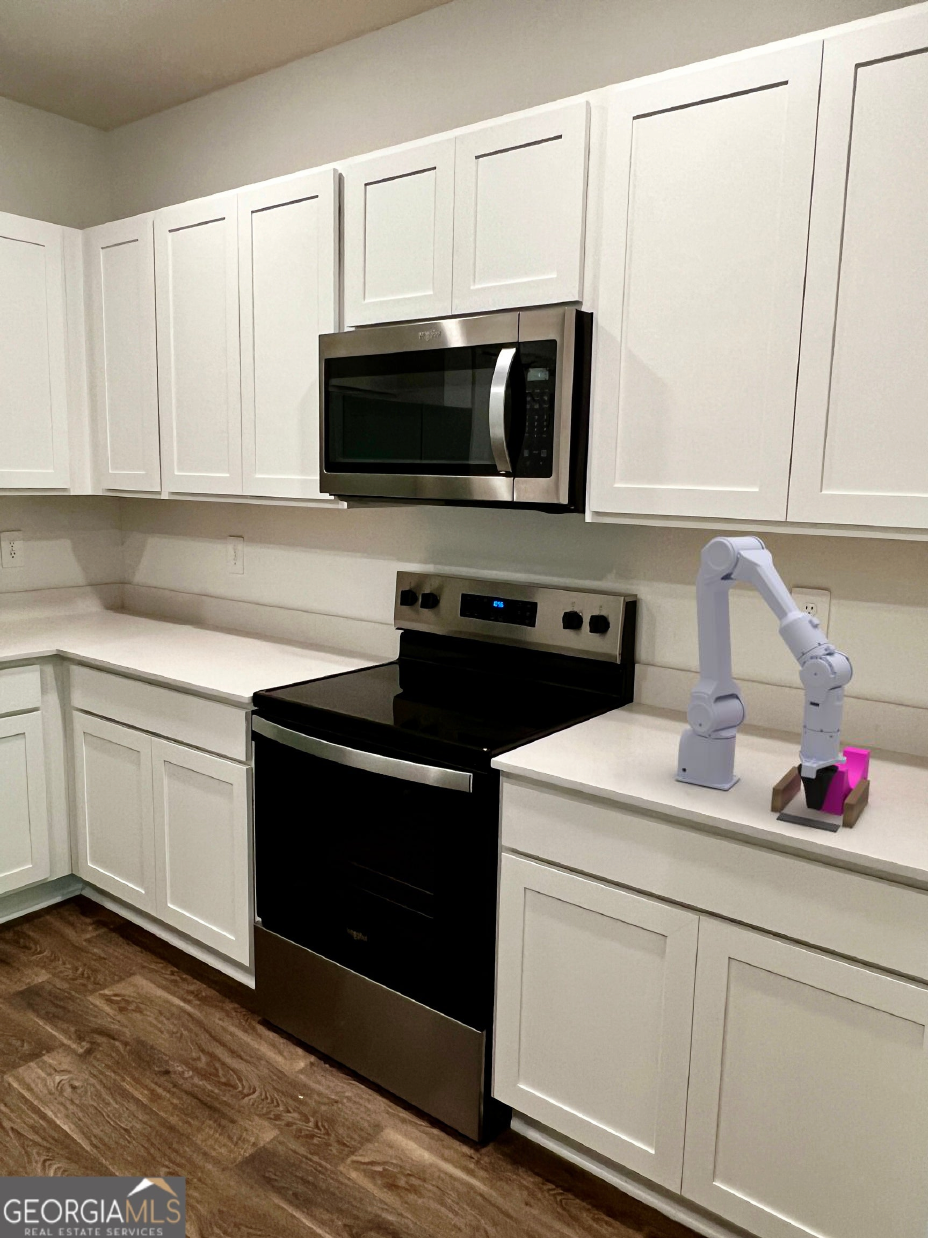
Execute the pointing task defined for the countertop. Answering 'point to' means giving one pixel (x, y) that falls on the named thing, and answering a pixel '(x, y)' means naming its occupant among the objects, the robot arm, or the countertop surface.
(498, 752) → the countertop surface
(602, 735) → the countertop surface
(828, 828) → the pit pad
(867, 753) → the toy block
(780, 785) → the channel
